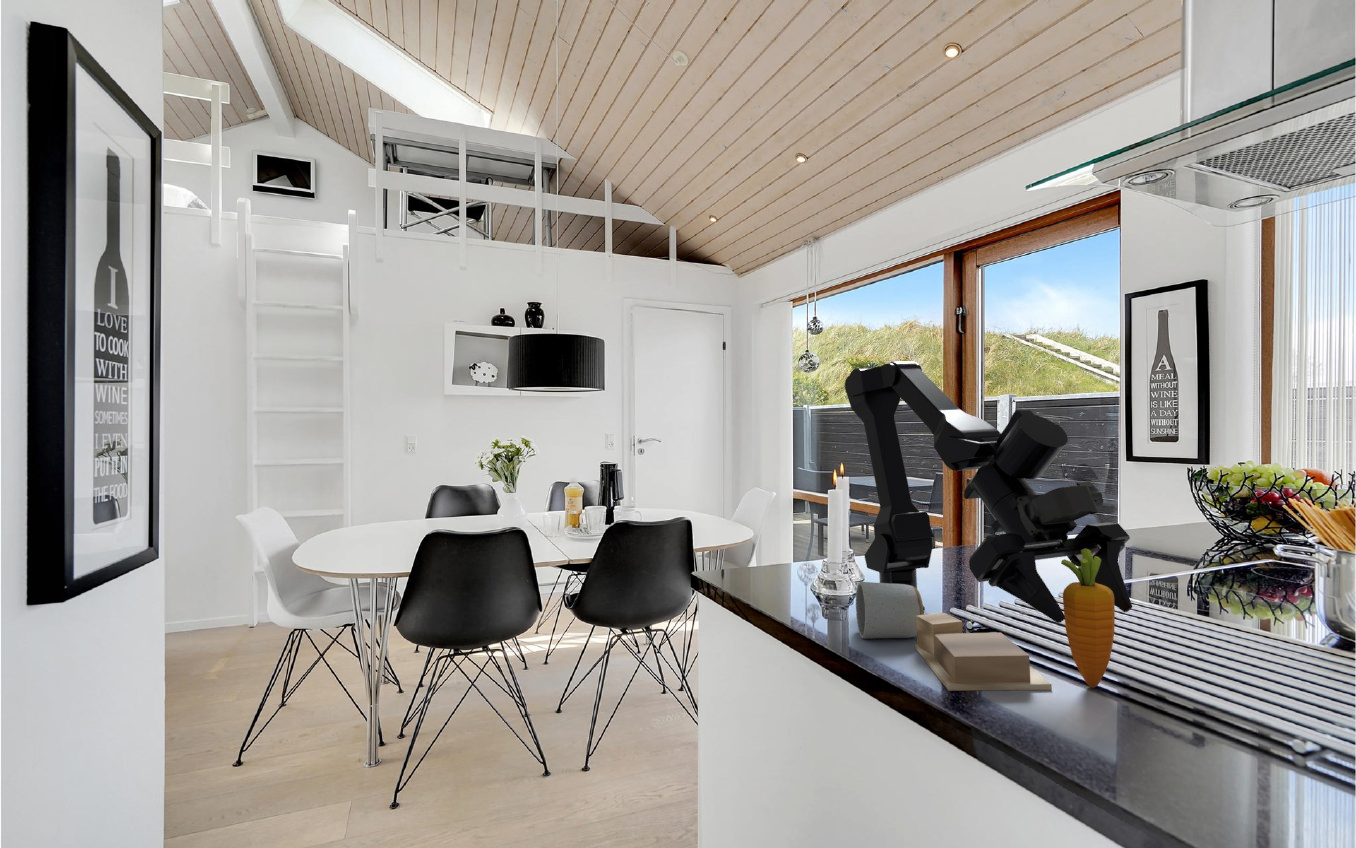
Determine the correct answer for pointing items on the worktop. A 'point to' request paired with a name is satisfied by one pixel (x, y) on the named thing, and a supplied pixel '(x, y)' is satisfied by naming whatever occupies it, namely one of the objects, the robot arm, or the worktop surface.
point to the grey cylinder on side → (887, 610)
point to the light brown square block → (981, 658)
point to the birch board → (1035, 679)
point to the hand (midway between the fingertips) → (1095, 615)
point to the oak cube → (935, 629)
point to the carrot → (1089, 619)
